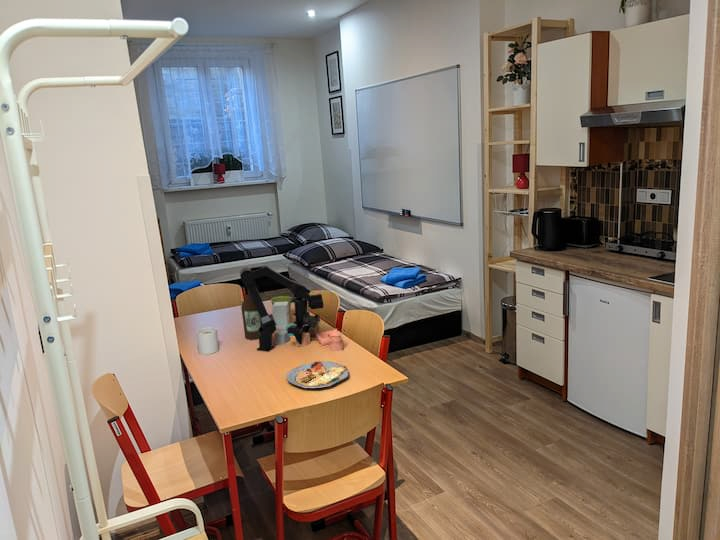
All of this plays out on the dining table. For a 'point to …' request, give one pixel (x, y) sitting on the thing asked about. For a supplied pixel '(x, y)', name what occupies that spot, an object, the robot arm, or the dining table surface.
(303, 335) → the terracotta block
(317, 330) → the walnut block
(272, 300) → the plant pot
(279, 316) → the supplement box
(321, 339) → the pottery
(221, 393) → the dining table surface
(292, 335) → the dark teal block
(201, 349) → the mug
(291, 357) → the dining table surface
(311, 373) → the food plate
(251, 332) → the olive oil
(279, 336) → the slate grey block
